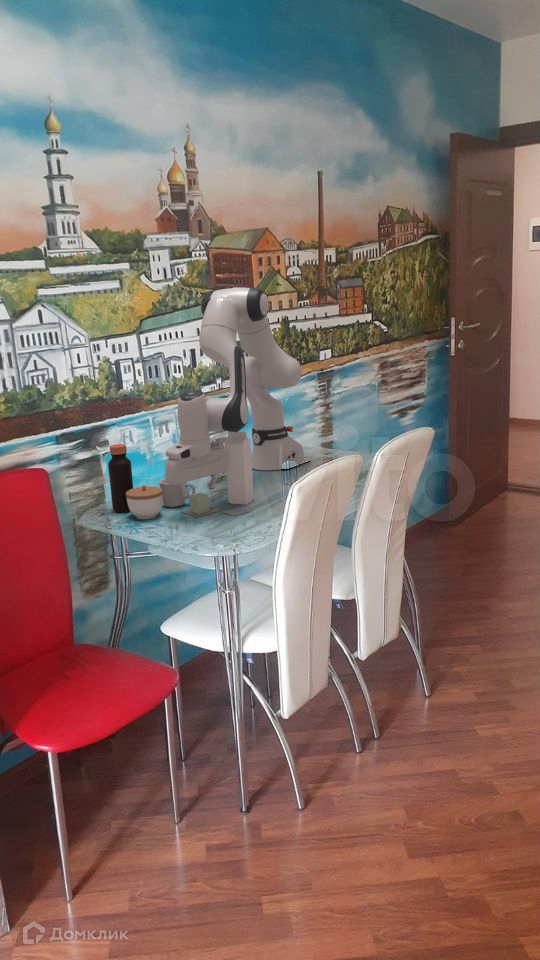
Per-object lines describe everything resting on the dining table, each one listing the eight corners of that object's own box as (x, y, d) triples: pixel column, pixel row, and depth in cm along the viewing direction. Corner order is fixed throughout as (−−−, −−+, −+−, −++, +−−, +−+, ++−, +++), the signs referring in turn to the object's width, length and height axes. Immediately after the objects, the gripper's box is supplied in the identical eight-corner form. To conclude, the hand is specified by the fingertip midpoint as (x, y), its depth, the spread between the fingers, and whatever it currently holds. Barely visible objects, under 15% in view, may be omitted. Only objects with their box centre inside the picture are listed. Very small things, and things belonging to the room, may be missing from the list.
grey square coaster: (237, 507, 249) (237, 507, 249) (250, 511, 245) (250, 511, 245) (221, 512, 245) (221, 511, 245) (234, 516, 241) (234, 515, 241)
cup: (198, 501, 258) (196, 476, 256) (193, 508, 251) (191, 483, 249) (164, 501, 260) (162, 477, 258) (158, 509, 252) (156, 483, 250)
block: (201, 508, 250) (200, 492, 248) (209, 511, 247) (208, 494, 245) (190, 511, 247) (189, 495, 246) (198, 514, 244) (197, 497, 243)
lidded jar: (127, 523, 240) (124, 492, 237) (128, 512, 250) (125, 482, 248) (165, 519, 241) (162, 488, 239) (164, 509, 252) (161, 479, 249)
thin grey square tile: (202, 506, 252) (202, 505, 252) (218, 511, 247) (218, 510, 247) (181, 512, 248) (181, 511, 248) (196, 517, 242) (196, 517, 242)
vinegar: (108, 512, 251) (101, 448, 246) (120, 506, 257) (113, 443, 252) (128, 513, 249) (122, 448, 244) (139, 507, 255) (133, 443, 250)
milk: (236, 498, 259) (231, 429, 254) (254, 499, 257) (250, 429, 252) (228, 503, 254) (223, 433, 248) (246, 504, 252) (242, 433, 246)
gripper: (217, 438, 251) (220, 482, 255) (160, 452, 238) (164, 498, 242) (230, 441, 246) (233, 486, 250) (173, 455, 234) (177, 502, 237)
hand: (199, 492), depth 246 cm, fingers open, 8 cm apart
